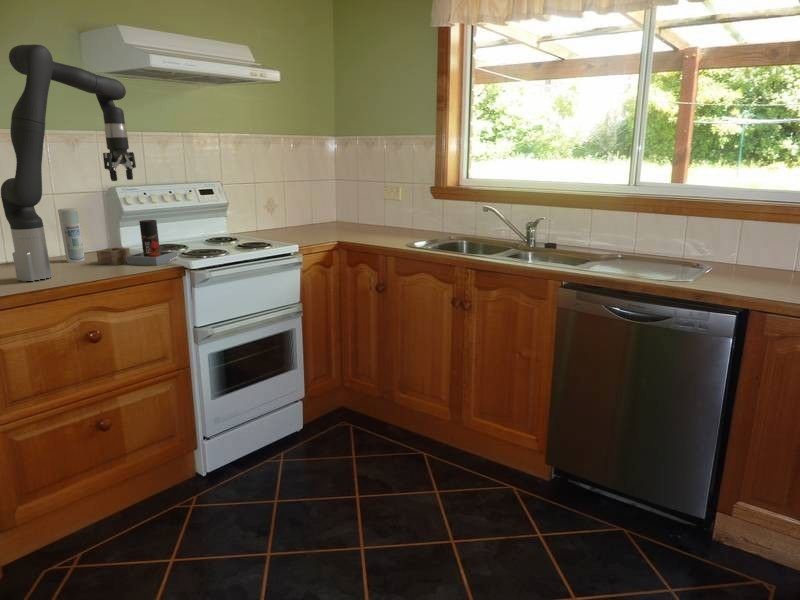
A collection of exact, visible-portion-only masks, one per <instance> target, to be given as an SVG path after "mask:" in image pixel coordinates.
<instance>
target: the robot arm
mask: <svg viewBox="0 0 800 600" xmlns="http://www.w3.org/2000/svg"><path fill="white" fill-rule="evenodd" d="M8 60H9V63H10V65H11V66H12V69H14V70H15V71H16V72H17V73H19V74H21V75H25V77H26V78H25V86H24V89H23V92H22V94H21V95H20V97H19V99H18V100H17V102H16V103H15V105H14V108H12V109H13V110H12V112H11V116H10V117H11V118H10V130H9V131H10V138H11V143H12V147H13V150H14V154H15V159H16V168H15V175H14V177H11V178H8V179H6V180H4V181H3V182H2V184H1V187H0V198H1V203H2V207H3V211H4V217H5V218H6V220H7V223H8V225H9V227H10V233H11V238H12V243H13V249H14V252H12V259H13V264H14V269H15V274H16V275H15V276H16V281H17V280H22V281H21V282H26V281H33V282H35V281H34V280H39V281H41V280H40V279H45V280H47V279H46V278H49V279H51V278H53V275H52V267H51V264H50V258H49V257H50V256H49V252H48V251H49V250H48V247H47V246H48V245H47V240H46V234H45V233H46V232H45V228H44V222H43V219H42V218H41V216H39V214H38V213H37V211H36V209H35V206H36V205H38V204H39V203H40V202H41V200H42V196H43V175H42V174H43V173H42V171H43V170H42V165H43V156H44V155H43V154H44V152H43V151H44V140H45V133H46V132H45V131H46V129H45V128H46V116H47V108H48V107H47V106H48V97H49V90H50V85H51V81H54V82H57V83H59V84H60V83H61V84H64V85H65V86H69V87H71V88H74V89H77V90H79V91H83V92H85V93H88V94H94V95H95V97H96V98H97V101H98V104H99V106H100V109H101V111H102V115H103V116H102V117H103V122H104V135H105V142H106V148H107V150H109V152H103V153H102V156H103V166H104V170H107V171H109V177H110V180H111V182H117V181H118V173H117V168H118V166H119V165H122V166H123V167H124V169H125V175H126V180H127V181H131V180H132V181H133V180H134V175H133V170H134V169H135V168H136V167H137V164H136V159H135V153H134V152H133V151H128V150H129V149H130V147H129V137H128V131H127V125H126V122H125V113H124V110H123V109H122V108H121V107H119V106H118V107H117V106H116V104H115V102H114V101H119V100H122V99H124V98H125V96H126V93H127V90H126V87H125V85H124V84H123V83H122V82H121V81H119V80H118V79H115V78H113V77H108V76H103V75H99V74H95V73H94V72H91V71H89V70H86V69H83V68H80V67H77V66H73V65H69V64H64V63H60V62H56V61H55V60H54V61H53V55H52V53H51V52H50V50H49V49H48V48H47V47H46V46H44V45H42V44H35V43H34V44H33V43H32V44H19V45H16V46H14V47H12V48H11V49H10V50H9V53H8ZM50 277H51V278H50Z"/></svg>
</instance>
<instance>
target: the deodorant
mask: <svg viewBox="0 0 800 600" xmlns="http://www.w3.org/2000/svg"><path fill="white" fill-rule="evenodd" d="M138 223H139V229H140V230H139V231H140V237H141V244H142V252H143V254H144V257H158V256H161V255H160V251H161V248H160V241H159V239H160V238H159V232H158V231H159V230H158V223H157V220H156V219H141V220H139V222H138Z"/></svg>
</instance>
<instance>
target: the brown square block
mask: <svg viewBox="0 0 800 600" xmlns="http://www.w3.org/2000/svg"><path fill="white" fill-rule="evenodd" d="M130 251H131V250H130V247H113V246H112V247H107V248H104V249H98V250H96V258H97V264H98V265H108V266H111V265H113V266H117V265H120V264H125V263H128V262H127V256H130V255H131V252H130Z"/></svg>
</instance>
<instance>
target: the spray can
mask: <svg viewBox="0 0 800 600" xmlns="http://www.w3.org/2000/svg"><path fill="white" fill-rule="evenodd" d="M78 211H79V210H78V208H75V207H69V208H67V207H66V208H59V209H57V212H58V219H59V224H60V225H59V226H60V230H61V231H60V232H61V235H62V243H63V247H64V253H65V254H64V255H65V259H66V262H67V263H78V262H79V263H80V262H84V261H85V259H86V258H85V252H84V245H83V239H82V232H81V225H80V224H81V223H80V217H79V212H78Z"/></svg>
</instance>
